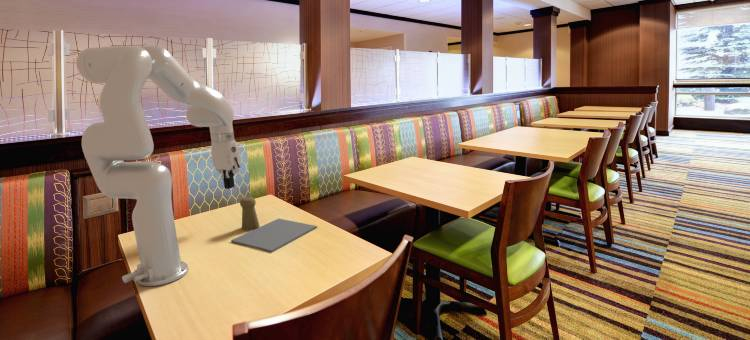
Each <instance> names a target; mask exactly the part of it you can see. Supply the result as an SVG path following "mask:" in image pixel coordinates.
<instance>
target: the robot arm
mask: <svg viewBox="0 0 750 340" xmlns="http://www.w3.org/2000/svg"><path fill="white" fill-rule="evenodd" d="M75 62H76V63H75V65H76V70H77V71H78V72H79V74H80V75H81V77H83V78H84V79H85V80H86V81H88V82H90V83H94V84H104V85H103V87H102V89H101V92H100V95H99V101H98V102H99V103H98V104H99V109H100V112H101V116H102V118H103V122H96V123H92V124H90V125H89V126H87V127H86V128H85V130H84V131H83V133H82V137H81V148H82V152H83V155H84V158H85V160H86V163H87V165H88V167H89V170H90V171H91V172H90V173H91V174H92V177H93V179H94V182H95V184H96V186H97V188H98V189H99V191H100V192H101V193H102V194H103V195H105V196H106V197H108V198H111V199H131V200H136V204H135V206H134V208H133V210H132V215H131V220H132V226H133V231H134V236H135V241H136V247H137V252H138V253H137V254H138V257H139V263H138V264H137V265H136V269H134V271H132V272H131V273H130V272H128V273H127V274H125V275H123V276H121V279H122V282H123V283H124V284H126V283H129V282H131V281H133V282H134V283H137V284H138V285H141V286H144V287H154V286H155V287H156V286H161V285H165V284H170V283H171V282H172V283H173V282H175V281H177V280H179V279H181V278H182V277H184V276H185V275H186V274H187V273H188V271H189V264H188V263H186V262H185V261H182V260H181V254H180V248H179V241H178V235H177V229H176V224H175V223H176V222H175V218H174V211H173V203H172V189H173V188H172V187H173V185H172V184H173V179H172V173H171V170H170V169H169V168H168V167H166V165H163V164H162V163H160V162H155V161H138V160H142V159H146V158H149V157H150V156H151V155H152V154H153V152H154V149H155V148H154V145H155V144H154V141H153V136H152V134H151V130H150V128H149V124H148V122H147V119H146V116H145V112H144V107H143V104H142V92H143V89H144V86H145V84H146V83H147V82H146V81H148V80H150V81H152V82H153V83H154V84H155V85H156V86H157V87H158V88H159V89H160V90H161V91H162V92H163V93H164V94H165V95H166V96H167V97H168V98H170V99H171V100H173V101H175V102H178V103H181V104H184V105H185V104H186V105H190V106H189V107H188V109H187V110H186V114H185V115H186V119H187V121H188V123H189V124H191V126H194V127H197V128H203V127H204V128H205V127H206V128H209V133H210V139H211V141H210V143H211V145H210V147H211V148H210V149H211V151H210V152H211V159H212V160H211V161H212V165H213V168H214V169H215V170H216V171H217V172H218V173H220V175H221V178H222V180H223V185H224V189H227V190H229V189H233V188H234V187H235V179H234V177H235V174H238V173H240V170H239V169H240V168H242V159H241V154H240V149H239V145H238V143H237V140H235V135H234V134H235V133H234V126H233V121H234V117H235V115H234V114H235V113H234V110H233V107H232V106H231V104H230V103H229V101H228V100H227V99H226V98H225V97H224V95H223V94H222V93H221V92H219V91H217V90H216V89H215V88H213V87H210V86H209V85H207V84H204V83H203V82H201V81H198V80H196V79H193V78H192V77H191V75H190V74H189V73H188V72H187V71H186V69H184V67H183V66H182V65H181V64H180V63H179V62H178V61H177V59H176V58H175V57H174V56H173V55H172V54H171V53H170V51H168V50H167V49H166V48H164V47H162V46H159V45H113V46H98V47H88V48H85V49H82V50H81V51H80V52H79V53H78V54H77V57H76V59H75Z"/></svg>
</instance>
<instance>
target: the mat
mask: <svg viewBox="0 0 750 340" xmlns="http://www.w3.org/2000/svg"><path fill="white" fill-rule="evenodd" d="M317 228H318V225H314V224H308V223H303V222H299V221H293V220H289V219H284V218H277V219H275V220H272V221H270V222H268V223H266V224H264V225H261V226H259V228H257V229H255V230H251V231H247V232H246V233H244V234H242V235H239V236H237V237H235V238H233V239H231V240H230V242H231V243H234V244H238V245H240V246H241V245H242V246H244V247H245V246H246V247H249V248H254V249H257V250H261V251H265V252H269V253H274V252H275V251H277V250H279V249H281V248H283V247H285V246H286V245H288V244H291V243H292V242H293V241H295V240H297V239H299V238H301V237H303V236H305V235H306V234H308V233H310V232H312V231H314V230H316V229H317Z"/></svg>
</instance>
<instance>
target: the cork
mask: <svg viewBox="0 0 750 340" xmlns="http://www.w3.org/2000/svg"><path fill="white" fill-rule="evenodd" d="M239 201H240V202H239V204H240V207H241V229H242V231H247V232H250V231H252V230H255V229H257V228H259V227H260V222H259V219H258V215H257V212H256V208H255V207H256V203H257V202H256V199H255V198H254V197H252V196H246V197H243V198H241V199H240V200H239Z"/></svg>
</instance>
